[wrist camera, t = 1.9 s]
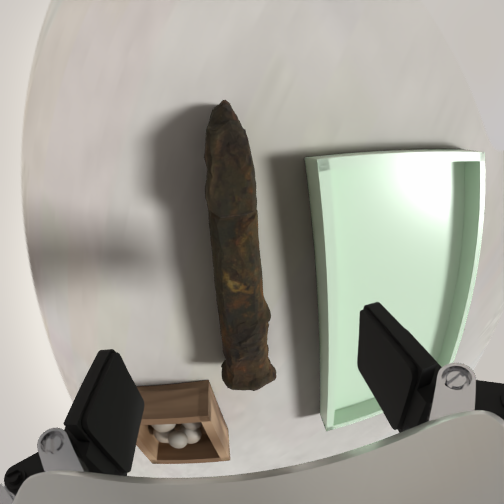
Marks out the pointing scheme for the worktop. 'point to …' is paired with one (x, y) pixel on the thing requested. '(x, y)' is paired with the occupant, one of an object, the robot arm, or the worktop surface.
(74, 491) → the robot arm
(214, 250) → the dark brown tapered bar
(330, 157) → the tray
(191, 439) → the gravel box
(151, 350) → the worktop surface
